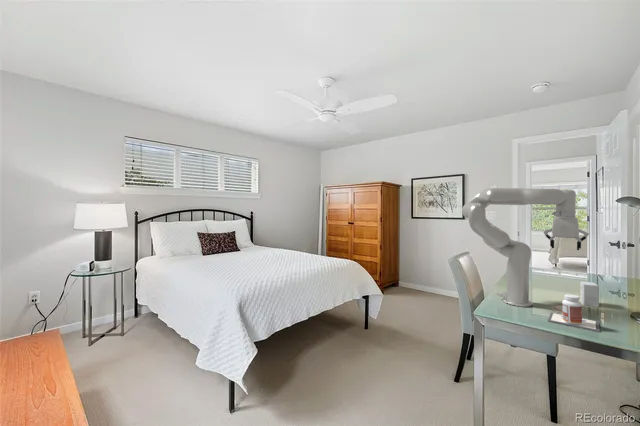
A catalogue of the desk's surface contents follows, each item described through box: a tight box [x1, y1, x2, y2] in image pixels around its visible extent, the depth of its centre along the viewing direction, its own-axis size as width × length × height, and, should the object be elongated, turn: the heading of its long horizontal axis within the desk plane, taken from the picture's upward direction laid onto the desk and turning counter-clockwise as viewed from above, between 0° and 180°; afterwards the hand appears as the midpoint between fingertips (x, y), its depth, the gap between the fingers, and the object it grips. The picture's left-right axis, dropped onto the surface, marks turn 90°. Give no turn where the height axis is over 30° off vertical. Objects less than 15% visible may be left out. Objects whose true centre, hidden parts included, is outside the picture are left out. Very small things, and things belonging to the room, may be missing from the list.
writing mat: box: [547, 312, 601, 333], centre depth 124 cm, size 16×13×1 cm
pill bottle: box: [561, 293, 583, 325], centre depth 122 cm, size 6×6×11 cm
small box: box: [579, 281, 600, 308], centre depth 147 cm, size 8×6×10 cm
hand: (565, 249), depth 145 cm, fingers open, 9 cm apart
